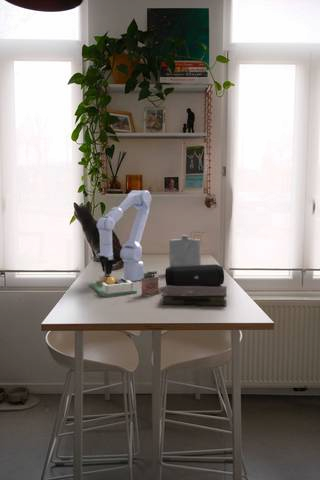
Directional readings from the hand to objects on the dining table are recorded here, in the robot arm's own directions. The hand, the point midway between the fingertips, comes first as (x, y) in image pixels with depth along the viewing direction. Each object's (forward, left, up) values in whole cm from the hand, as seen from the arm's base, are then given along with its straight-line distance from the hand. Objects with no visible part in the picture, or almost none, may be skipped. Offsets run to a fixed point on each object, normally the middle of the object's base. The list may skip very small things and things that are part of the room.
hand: (107, 272), depth 216 cm
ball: (0, +6, -3) cm, 7 cm away
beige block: (0, 0, -5) cm, 5 cm away
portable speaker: (-35, +20, -6) cm, 41 cm away
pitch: (0, +8, -6) cm, 10 cm away
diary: (-25, +42, -7) cm, 49 cm away
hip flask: (-44, -8, -6) cm, 45 cm away
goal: (0, +16, -6) cm, 18 cm away
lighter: (-12, +24, -6) cm, 28 cm away
